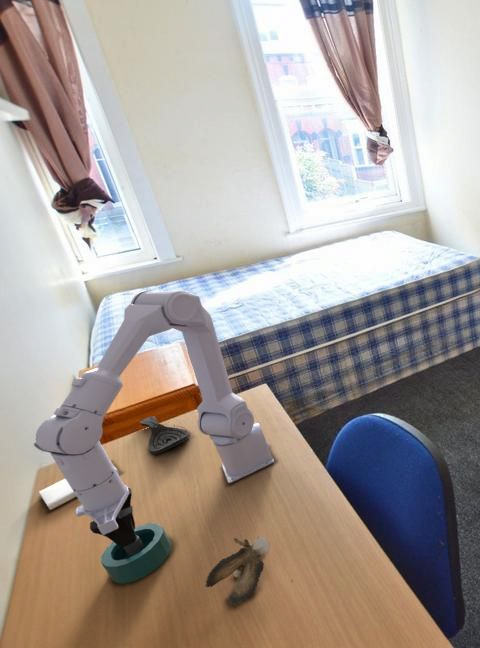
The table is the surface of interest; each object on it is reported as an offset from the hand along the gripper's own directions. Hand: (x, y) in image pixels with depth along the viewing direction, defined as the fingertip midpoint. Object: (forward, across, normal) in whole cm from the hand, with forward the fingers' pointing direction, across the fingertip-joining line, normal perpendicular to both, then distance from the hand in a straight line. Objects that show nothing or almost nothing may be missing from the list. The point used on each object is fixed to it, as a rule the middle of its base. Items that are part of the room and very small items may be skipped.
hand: (128, 537), depth 83 cm
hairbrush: (+6, -44, +6) cm, 45 cm away
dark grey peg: (+5, 0, 0) cm, 5 cm away
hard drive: (+6, -36, -10) cm, 38 cm away
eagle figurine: (+6, +18, +14) cm, 24 cm away
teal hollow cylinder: (+6, 0, 0) cm, 6 cm away
